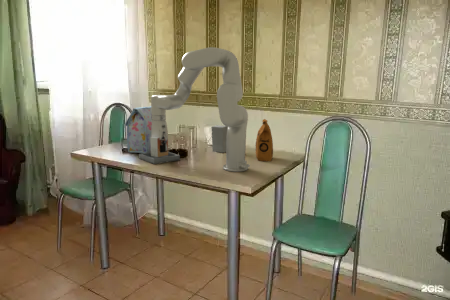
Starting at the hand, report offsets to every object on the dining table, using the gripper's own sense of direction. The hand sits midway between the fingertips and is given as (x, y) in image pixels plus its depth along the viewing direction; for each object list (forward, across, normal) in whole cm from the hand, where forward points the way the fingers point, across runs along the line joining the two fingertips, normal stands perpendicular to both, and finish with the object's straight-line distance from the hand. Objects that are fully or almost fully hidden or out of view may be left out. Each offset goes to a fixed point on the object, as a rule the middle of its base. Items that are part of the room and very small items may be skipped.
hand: (159, 150), depth 194 cm
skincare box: (+5, -4, -40) cm, 40 cm away
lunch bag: (+5, +26, -6) cm, 27 cm away
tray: (+5, 0, 0) cm, 5 cm away
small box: (+3, 0, 0) cm, 3 cm away
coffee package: (+5, -34, -47) cm, 58 cm away
